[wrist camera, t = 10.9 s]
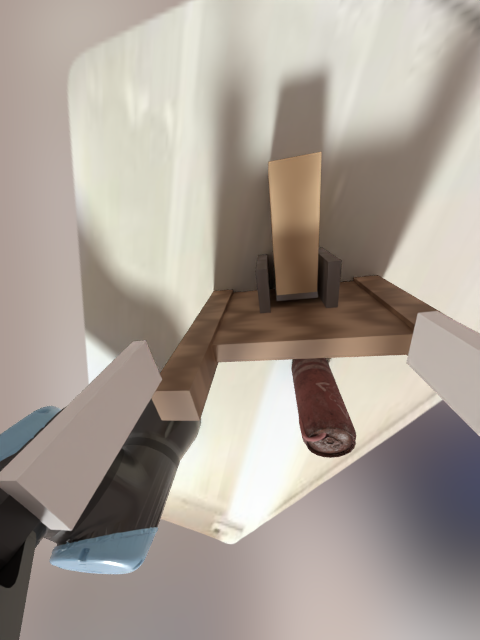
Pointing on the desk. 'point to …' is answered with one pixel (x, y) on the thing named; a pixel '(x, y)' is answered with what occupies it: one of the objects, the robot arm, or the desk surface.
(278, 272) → the tan rectangular block
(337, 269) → the wooden u-shaped stand
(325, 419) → the can
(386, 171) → the desk surface
